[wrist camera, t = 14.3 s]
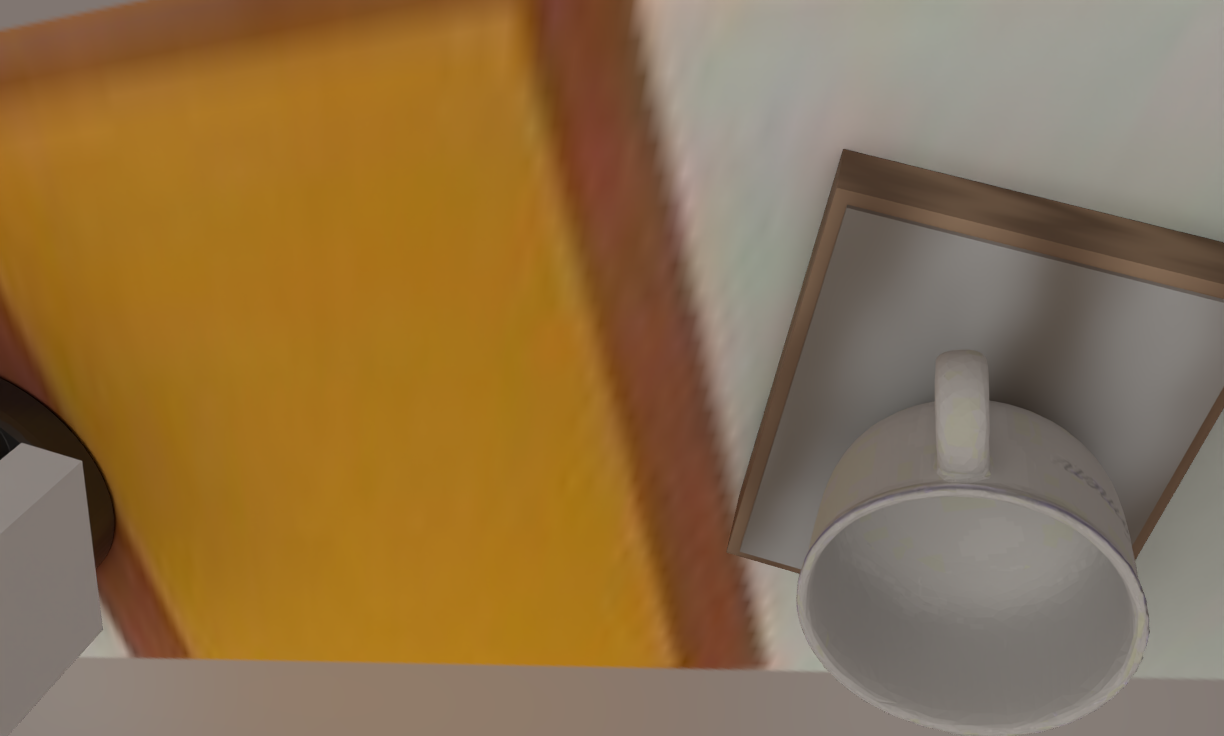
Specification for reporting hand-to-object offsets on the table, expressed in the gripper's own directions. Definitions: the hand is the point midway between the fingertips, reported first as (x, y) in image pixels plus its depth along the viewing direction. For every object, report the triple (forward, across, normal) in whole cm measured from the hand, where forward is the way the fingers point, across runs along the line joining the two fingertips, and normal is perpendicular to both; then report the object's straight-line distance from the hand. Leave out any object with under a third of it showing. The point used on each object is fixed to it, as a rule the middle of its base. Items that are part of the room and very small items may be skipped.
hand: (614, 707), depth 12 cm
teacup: (+28, +9, -13) cm, 32 cm away
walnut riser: (+32, +10, -12) cm, 35 cm away
